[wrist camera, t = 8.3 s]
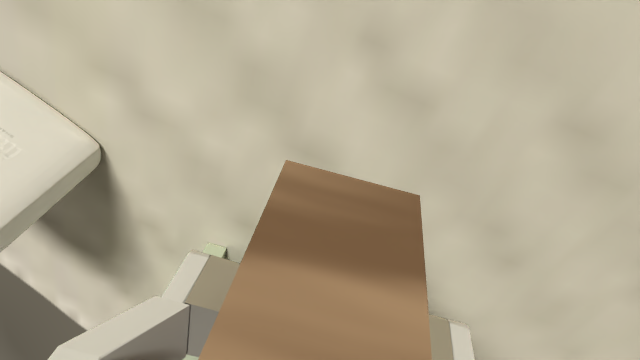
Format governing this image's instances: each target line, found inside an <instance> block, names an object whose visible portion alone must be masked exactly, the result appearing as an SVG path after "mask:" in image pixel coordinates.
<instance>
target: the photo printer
mask: <svg viewBox="0 0 640 360" xmlns="http://www.w3.org/2000/svg"><path fill="white" fill-rule="evenodd" d="M99 147H100V146H99V144H98V143H97V142H96V141H95V140H94V139H93V138H92V137H91V136H89V135H88V134H87V133H86V132H84V131H83V130H82V129H80V128H79V127H78V126H77V125H75V124H74V123H73V122H71V121H70V120H69V119H67V118H66V117H64V116H63V115H62V114H60V113H59V112H58V111H56V110H55V109H53V108H52V107H51V106H49V105H48V104H46V103H45V102H44V101H42V100H41V99H39V98H38V97H37V96H35V95H34V94H32V93H31V92H30V91H28V90H27V89H25V88H24V87H22V86H21V85H19V84H18V83H17V82H15V81H14V80H12V79H11V78H9V77H8V76H6V75H5V74H3V73H2V72H0V252H1V251H3V250H4V249H5V248H6V247H7V246H8V245H10V244H11V243H12V242H13V241H14V240H15V239H16V238H18V237H19V236H20V235H21V234H22V233H23V232H24V231H25V230H27V229H28V228H29V227H30V226H31V225H32V224H33V223H35V222H36V221H37V220H38V219H39V218H40V217H41V216H42V215H44V214H45V213H46V212H47V211H48V210H49V209H50V208H51V207H52V206H54V205H55V204H56V203H57V202H58V201H59V200H60V199H61V198H63V197H64V196H65V195H66V194H67V193H68V192H69V191H71V190H72V189H73V188H74V187H75V186H76V185H77V184H78V183H80V182H81V181H82V180H83V179H84V178H85V177H86V176H87V175H89V174H90V173H91V172H92V171H93V170H94V169H95V168H96V167H97V166H98V164H99V163H100V160H101V150H100V148H99Z"/></svg>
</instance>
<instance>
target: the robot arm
mask: <svg viewBox="0 0 640 360" xmlns="http://www.w3.org/2000/svg"><path fill="white" fill-rule="evenodd" d="M239 266H240V263H237V262H234V261H231V260H227V259H224V258H221V257H217V256H214V255H209V254H206V253H203V252H199V251H196V250H191V251H190V252H189V253H188V254H187V256H186V257H185V259H184V261H183V262H182V264H181V265H180V267H179V269H178V270H177V272H176V274H175V275H174V277H173V278H172V280H171V282H170V283H169V285H168V287H167V288H166V290H165V291H164V293H163V295H162V296H161V297H159V296H153V297H152V298H150V299H148V300H146V301H144V302H142V303H140V304H138V305H136V306H134V307H132V308H130V309H129V310H127V311H125V312H123V313H121V314H119V315H117V316H115V317H113V318H111V319H109V320H107V321H106V322H104V323H102V324H100V325H98V326H96V327H94V328H92V329H90V330H88V331H86V332H85V333H83V334H81V335H79V336H77V337H75V338H73V339H71V340H69V341H67V342H65V343H64V344H62V345H60V346H58V347H57V349H56V350H55V351H54V352H53V354H52V355H51V356H50V357H49V359H48V360H182V359H184V358H185V357H186V354H187V355H191V356H195V357H199V356H200V354H201V352H202V349H203V347H204V345H205V343H206V340H207V338H208V336H209V334H210V331H211V329H212V327H213V325H214V322H215V320H216V318H217V315H218V313H219V311H220V309H221V306H222V304H223V302H224V300H225V297H226V295H227V293H228V291H229V288H230V286H231V284H232V282H233V279H234V277H235V275H236V272H237V270H238V268H239ZM429 327H430V340H431V354H432V360H475V357H474V352H473V346H472V340H471V334H470V329H469V327H468V325H467V324H464V323H461V322H457V321H453V320H449V319H445V318H442V317H438V316H434V315H430V314H429Z"/></svg>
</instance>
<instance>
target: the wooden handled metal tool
mask: <svg viewBox="0 0 640 360" xmlns="http://www.w3.org/2000/svg"><path fill="white" fill-rule="evenodd" d="M198 360H432V354H431V340H430V327H429V314H428V300H427V287H426V273H425V260H424V246H423V233H422V219H421V206H420V195H416V194H412V193H408V192H404V191H401V190H397V189H393V188H389V187H386V186H382V185H378V184H374V183H371V182H367V181H363V180H359V179H356V178H352V177H348V176H344V175H340V174H337V173H333V172H329V171H325V170H322V169H318V168H314V167H310V166H307V165H303V164H299V163H295V162H292V161H288V160H286V161H285V164H284V166H283V168H282V171H281V173H280V175H279V177H278V180H277V182H276V184H275V186H274V189H273V191H272V193H271V195H270V198H269V200H268V202H267V205H266V207H265V209H264V211H263V214H262V216H261V218H260V220H259V223H258V225H257V227H256V229H255V232H254V234H253V236H252V238H251V241H250V243H249V245H248V248H247V250H246V252H245V254H244V257H243V259H242V261H241V263H240V266H239V268H238V270H237V272H236V275H235V277H234V279H233V282H232V284H231V286H230V288H229V291H228V293H227V295H226V297H225V300H224V302H223V304H222V306H221V309H220V311H219V313H218V315H217V318H216V320H215V322H214V325H213V327H212V329H211V331H210V334H209V336H208V338H207V340H206V343H205V345H204V347H203V349H202V352H201V354H200V356H199V359H198Z"/></svg>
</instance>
